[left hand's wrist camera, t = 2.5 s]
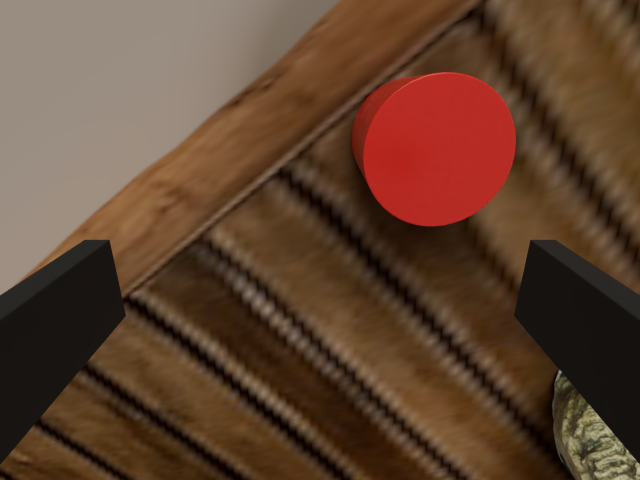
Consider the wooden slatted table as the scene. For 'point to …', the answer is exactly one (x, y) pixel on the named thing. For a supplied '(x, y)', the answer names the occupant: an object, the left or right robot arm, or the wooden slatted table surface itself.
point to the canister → (434, 146)
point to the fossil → (587, 439)
